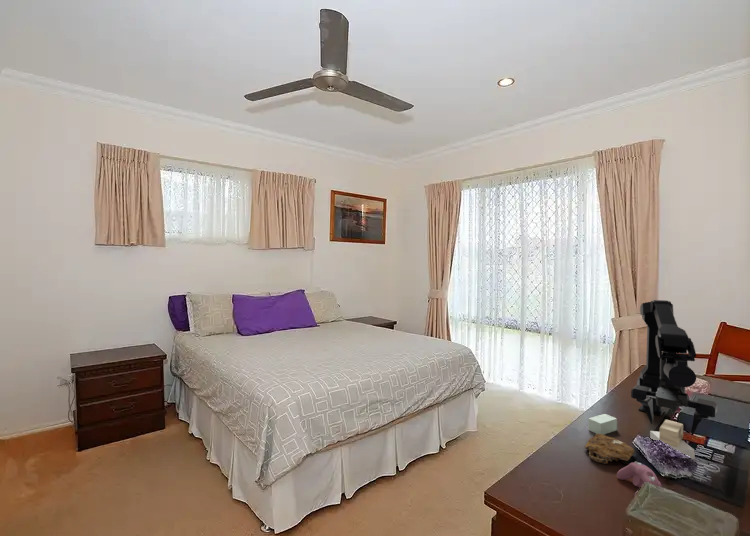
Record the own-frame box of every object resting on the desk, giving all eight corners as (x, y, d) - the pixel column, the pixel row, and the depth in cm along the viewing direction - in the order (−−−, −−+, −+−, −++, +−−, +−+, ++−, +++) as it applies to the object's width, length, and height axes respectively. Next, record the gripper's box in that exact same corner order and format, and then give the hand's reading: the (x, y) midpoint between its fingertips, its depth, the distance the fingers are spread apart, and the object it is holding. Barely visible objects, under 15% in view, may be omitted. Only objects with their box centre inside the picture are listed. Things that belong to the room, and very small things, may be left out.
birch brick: (665, 432, 109) (666, 419, 109) (683, 437, 106) (683, 424, 106) (659, 441, 104) (659, 427, 103) (677, 446, 100) (677, 432, 100)
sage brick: (604, 425, 119) (604, 413, 119) (616, 430, 116) (617, 418, 116) (588, 430, 116) (588, 418, 116) (600, 436, 113) (600, 423, 112)
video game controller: (653, 511, 81) (670, 486, 81) (634, 500, 82) (649, 475, 81) (631, 484, 91) (645, 461, 90) (613, 474, 92) (627, 451, 91)
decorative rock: (628, 477, 92) (636, 455, 103) (629, 462, 92) (637, 441, 103) (578, 458, 100) (590, 439, 111) (579, 444, 100) (592, 426, 111)
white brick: (650, 440, 110) (650, 430, 110) (672, 442, 109) (672, 432, 109) (669, 458, 100) (669, 447, 100) (694, 460, 99) (694, 450, 99)
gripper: (626, 374, 105) (625, 426, 106) (712, 392, 91) (711, 452, 92) (636, 366, 113) (635, 415, 113) (718, 381, 99) (717, 437, 99)
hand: (671, 428), depth 104 cm, fingers open, 9 cm apart
